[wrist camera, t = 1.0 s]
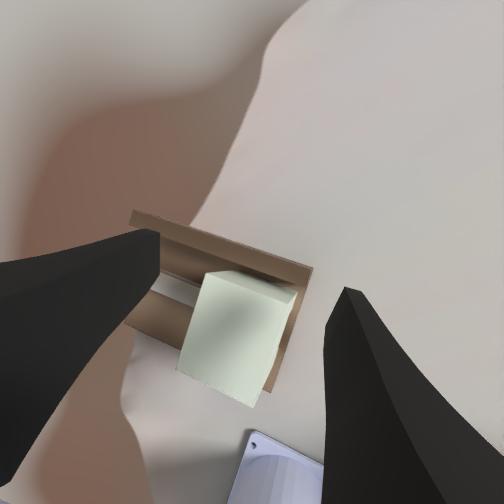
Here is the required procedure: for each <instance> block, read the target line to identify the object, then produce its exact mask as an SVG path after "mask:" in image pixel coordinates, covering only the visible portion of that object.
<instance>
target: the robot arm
mask: <svg viewBox="0 0 504 504" xmlns="http://www.w3.org/2000/svg"><path fill="white" fill-rule="evenodd" d="M159 275H160V232H157V231H153V230H150V229H147V228H145V229H140V230H136V231H132V232H128V233H125V234H121V235H118V236H115V237H111V238H108V239H104V240H101V241H97V242H94V243H91V244H87V245H83V246H79V247H75V248H71V249H68V250H63V251H60V252H55V253H51V254H46V255H42V256H37V257H31V258H26V259H21V260H15V261H9V262H1V263H0V487H2V486H4V485H5V484H7V483H8V482H10V481H11V479H12V478H13V476H14V474H15V473H16V471H17V469H18V468H19V466H20V464H21V463H22V461H23V459H24V458H25V456H26V454H27V453H28V451H29V450H30V448H31V446H32V445H33V443H34V441H35V440H36V438H37V437H38V435H39V434H40V432H41V430H42V429H43V427H44V426H45V424H46V423H47V421H48V420H49V418H50V417H51V415H52V414H53V412H54V411H55V409H56V407H57V406H58V404H59V403H60V401H61V400H62V398H63V397H64V396H65V394H66V393H67V391H68V390H69V388H70V387H71V386H72V384H73V383H74V381H75V380H76V378H77V377H78V375H79V374H80V373H81V371H82V370H83V369H84V367H85V366H86V364H87V363H88V362H89V361H90V359H91V358H92V356H93V355H94V354H95V352H96V351H97V350H98V348H99V347H100V346H101V345H102V344H103V342H104V341H105V340H106V338H108V336H109V335H110V334H111V333H112V332H113V331H114V330H115V329H116V327H117V326H118V325H119V324H120V323H121V322H122V321H123V320H124V319H125V318H126V317H127V316H128V314H129V313H130V312H131V311H132V310H133V309H134V308H135V307H136V306H137V304H138V303H139V302H140V301H141V300H142V299H143V298H144V297H145V295H146V294H147V293H148V291H149V290H150V288H151V287H152V286H153V284H154V283H155V281H156V280H157V278H158V276H159ZM323 357H324V381H325V403H326V435H325V454H324V466H323V465H322V464H320V463H318V462H316V461H314V460H312V459H310V458H308V457H306V456H304V455H302V454H300V453H299V452H297V451H295V450H293V449H291V448H289V447H287V446H285V445H283V444H281V443H279V442H277V441H276V440H274V439H272V438H270V437H268V436H266V435H264V434H262V433H260V432H258V431H253V432H252V433H251V434H250V437H249V440H248V443H247V446H246V449H245V452H244V455H243V458H242V460H241V463H240V466H239V469H238V472H237V475H236V478H235V481H234V484H233V487H232V490H231V493H230V496H229V499H228V502H227V504H504V456H503V455H501V454H500V453H499V452H498V451H497V450H496V449H495V448H494V447H493V446H492V445H491V444H490V443H489V442H487V441H486V440H485V439H484V438H483V437H482V436H481V435H480V434H479V433H478V432H477V431H476V430H475V429H474V428H473V427H472V426H471V425H470V424H469V423H468V422H467V421H466V420H465V419H464V418H463V417H462V416H461V415H460V414H459V413H458V412H457V411H456V410H455V409H454V408H453V407H452V406H451V405H450V404H449V403H448V402H447V401H446V399H445V398H444V397H443V396H442V395H441V394H440V393H439V392H438V391H437V390H436V388H435V387H434V386H433V385H432V384H431V383H430V382H429V381H428V380H427V378H426V377H425V376H424V375H423V374H422V373H421V371H420V370H419V369H418V368H417V367H416V365H415V364H414V363H413V362H412V360H411V359H410V358H409V357H408V355H407V354H406V353H405V352H404V350H403V349H402V348H401V346H400V345H399V344H398V342H397V341H396V340H395V338H394V337H393V336H392V334H391V333H390V331H389V330H388V329H387V327H386V326H385V324H384V323H383V322H382V320H381V319H380V317H379V316H378V314H377V313H376V311H375V310H374V308H373V307H372V306H371V304H370V303H369V301H368V300H367V298H366V297H365V295H364V294H363V293H362V292H361V291H358V290H355V289H351V288H348V287H344V289H343V291H342V293H341V295H340V297H339V299H338V301H337V303H336V305H335V307H334V309H333V311H332V313H331V315H330V317H329V320H328V322H327V324H326V326H325V336H324V348H323ZM251 442H254V443H255V444H256V446H254V445H253V444H252V443H251ZM0 504H9V503H7V502H5V501H3V500H0Z"/></svg>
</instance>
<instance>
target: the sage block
mask: <svg viewBox="0 0 504 504" xmlns="http://www.w3.org/2000/svg"><path fill="white" fill-rule="evenodd" d="M297 293H298V291H295V290H292V289H289V288H287V287H284V286H281V285H278V284H276V283H273V282H270V281H267V280H265V279H262V278H259V277H256V276H254V275H251V274H248V273H245V272H243V271H240V270H230V271H220V272H210V273H206V274H205V278H204V281H203V284H202V287H201V290H200V293H199V296H198V300H197V303H196V306H195V309H194V312H193V315H192V318H191V321H190V325H189V328H188V331H187V334H186V337H185V340H184V343H183V347H182V350H181V353H180V356H179V359H178V362H177V365H176V370H178V371H180V372H182V373H184V374H186V375H188V376H190V377H192V378H194V379H196V380H198V381H200V382H202V383H204V384H206V385H208V386H210V387H212V388H214V389H216V390H218V391H220V392H222V393H224V394H226V395H228V396H230V397H232V398H234V399H236V400H238V401H240V402H242V403H244V404H246V405H248V406H250V407H252V408H253V407H254V405H255V403H256V401H257V399H258V397H259V394H260V392H261V390H262V388H263V386H264V384H265V382H266V379H267V377H268V375H269V373H270V371H271V369H272V367H273V364H274V361H275V358H276V355H277V352H278V349H279V347H278V346H279V343H280V340H281V337H282V334H283V331H284V328H285V325H286V322H287V319H288V316H289V314H290V312H291V311H292V308H293V305H294V302H295V299H296V296H297Z"/></svg>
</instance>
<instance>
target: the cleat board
mask: <svg viewBox="0 0 504 504" xmlns="http://www.w3.org/2000/svg"><path fill="white" fill-rule="evenodd" d="M129 225H131V226H134V227H137V228H140V229H145V228H147V229H150V230H153V231H157V232H160V275H159V276H158V278H157V280H156V281H155V283H154V284H153V286H152V287H151V288H150V290H149V291H148V293H147V294H146V295H145V297H144V298H143V299H142V300H141V301H140V302H139V303H138V304H137V306H136V307H135V308H134V309H133V310H132V311H131V312H130V313H129V314H128V316H127V317H126V318H125V321H124V324H127V325H128V326H131V327H133V328H135V329H137V330H139V331H141V332H143V333H145V334H147V335H149V336H152V337H154V338H156V339H158V340H160V341H162V342H164V343H166V344H168V345H170V346H173V347H175V348H177V349H179V350H182V347H183V343H184V340H185V337H186V334H187V331H188V328H189V325H190V321H191V318H192V315H193V312H194V309H195V306H196V303H197V300H198V296H199V293H200V290H201V287H202V284H203V281H204V278H205V274H206V273H210V272H220V271H230V270H240V271H243V272H245V273H248V274H251V275H254V276H256V277H259V278H262V279H265V280H267V281H270V282H273V283H276V284H278V285H281V286H284V287H287V288H289V289H292V290H295V291H298V293H297V296H296V299H295V302H294V305H293V308H292V311H291V312H290V314H289V316H288V319H287V322H286V325H285V328H284V331H283V334H282V337H281V340H280V343H279V346H278V347H279V349H278V352H277V355H276V358H275V361H274V364H273V367H272V369H271V371H270V373H269V375H268V377H267V379H266V382H265V384H264V386H263V388H262V389H263V390H265V391H267V392H269V393H271V391H272V389H273V386H274V383H275V380H276V377H277V375H278V372H279V369H280V366H281V363H282V360H283V357H284V354H285V351H286V348H287V345H288V342H289V339H290V336H291V333H292V330H293V327H294V324H295V321H296V319H297V316H298V313H299V310H300V307H301V304H302V301H303V298H304V295H305V292H306V289H307V286H308V283H309V280H310V277H311V274H312V271H313V268H312V267H309V266H306V265H303V264H300V263H297V262H294V261H291V260H288V259H285V258H282V257H279V256H276V255H273V254H270V253H267V252H264V251H261V250H258V249H255V248H252V247H249V246H246V245H243V244H240V243H237V242H234V241H232V240H229V239H226V238H223V237H220V236H217V235H214V234H211V233H208V232H205V231H202V230H199V229H196V228H193V227H190V226H187V225H184V224H181V223H178V222H175V221H172V220H169V219H166V218H162V217H158V216H155V215H151V214H147V213H144V212H140V211H137V210H133V212H132V215H131V219H130V222H129Z"/></svg>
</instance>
